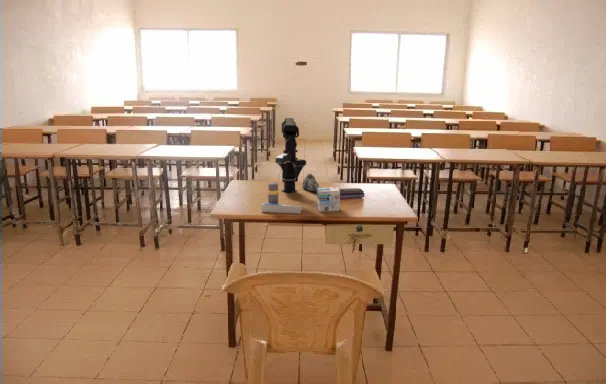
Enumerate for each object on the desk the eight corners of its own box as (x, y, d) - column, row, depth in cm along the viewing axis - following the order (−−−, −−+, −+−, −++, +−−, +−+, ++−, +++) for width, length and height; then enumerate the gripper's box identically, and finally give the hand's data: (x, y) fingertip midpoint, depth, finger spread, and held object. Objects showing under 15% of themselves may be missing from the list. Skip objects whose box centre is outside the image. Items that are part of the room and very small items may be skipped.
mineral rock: (319, 194, 260) (320, 177, 257) (300, 193, 260) (300, 176, 258) (320, 188, 272) (320, 171, 269) (302, 187, 273) (302, 171, 270)
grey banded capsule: (266, 207, 235) (266, 183, 232) (276, 206, 237) (276, 182, 234) (270, 210, 231) (270, 185, 227) (280, 209, 233) (279, 184, 229)
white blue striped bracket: (261, 211, 229) (261, 203, 228) (263, 209, 233) (263, 201, 231) (300, 213, 226) (300, 205, 225) (301, 210, 230) (301, 203, 229)
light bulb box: (319, 212, 229) (319, 191, 226) (316, 207, 235) (316, 187, 232) (340, 210, 231) (340, 190, 228) (336, 206, 237) (337, 186, 234)
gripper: (267, 147, 242) (267, 177, 245) (290, 150, 228) (291, 181, 232) (283, 146, 249) (283, 174, 252) (306, 149, 236) (306, 178, 239)
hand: (290, 177), depth 244 cm, fingers open, 9 cm apart
